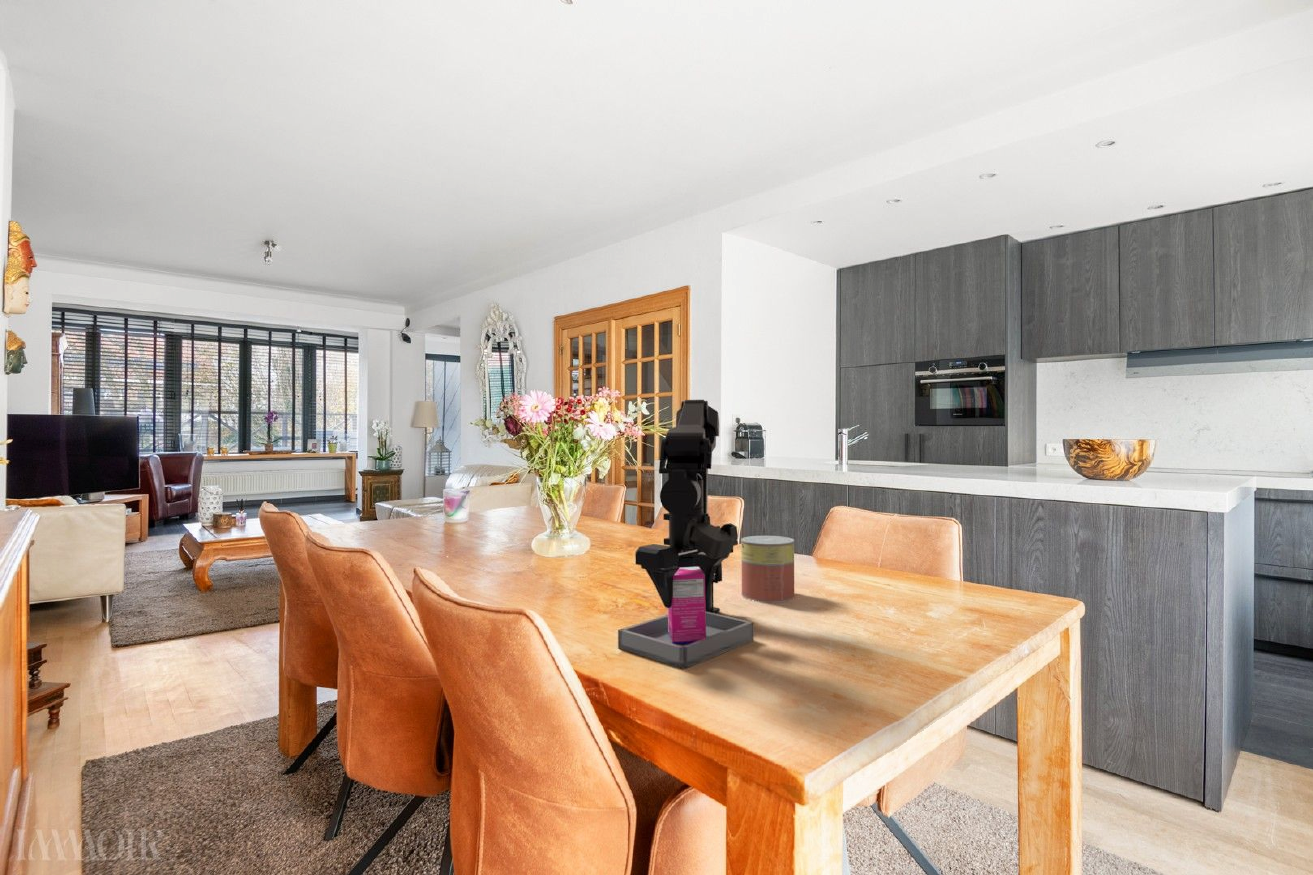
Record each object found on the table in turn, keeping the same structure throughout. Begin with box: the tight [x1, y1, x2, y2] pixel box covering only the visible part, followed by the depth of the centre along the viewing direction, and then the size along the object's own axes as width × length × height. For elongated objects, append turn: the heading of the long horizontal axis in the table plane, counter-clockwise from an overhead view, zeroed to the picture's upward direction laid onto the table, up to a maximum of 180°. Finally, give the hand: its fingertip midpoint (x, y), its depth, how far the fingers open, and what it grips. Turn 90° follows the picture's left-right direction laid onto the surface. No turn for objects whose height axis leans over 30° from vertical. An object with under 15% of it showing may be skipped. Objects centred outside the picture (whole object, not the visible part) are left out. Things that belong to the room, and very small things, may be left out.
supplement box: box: [667, 567, 706, 645], centre depth 108 cm, size 6×6×12 cm
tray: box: [617, 612, 755, 670], centre depth 109 cm, size 18×14×3 cm
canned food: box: [740, 534, 796, 603], centre depth 140 cm, size 11×11×12 cm
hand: (686, 601), depth 108 cm, fingers open, 9 cm apart
